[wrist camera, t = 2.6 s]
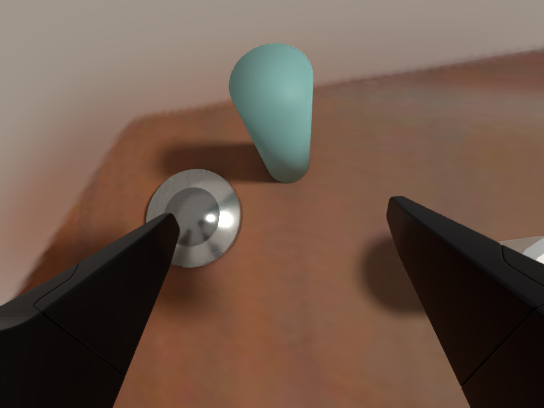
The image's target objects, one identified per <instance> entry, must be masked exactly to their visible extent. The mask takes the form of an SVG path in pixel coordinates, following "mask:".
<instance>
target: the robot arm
mask: <svg viewBox="0 0 544 408" xmlns="http://www.w3.org/2000/svg"><path fill="white" fill-rule="evenodd" d="M386 217H387V221H388V224H389V228H390V231H391V234H392V237H393V240H394V243H395V246H396V249H397V252H398V254H399V256H400V259H401V261H402V263H403V265H404V267H405V269H406V271H407V274H408V276H409V278H410V280H411V282H412V284H413V286H414V288H415V291H416V293H417V295H418V297H419V299H420V301H421V303H422V305H423V307H424V310H425V312H426V314H427V316H428V318H429V320H430V322H431V324H432V327H433V329H434V331H435V333H436V335H437V337H438V339H439V341H440V344H441V346H442V348H443V350H444V352H445V354H446V356H447V358H448V360H449V363H450V365H451V367H452V369H453V371H454V373H455V375H456V377H457V380H458V382H459V384H460V386H462V391H463V393H464V395H465V397H466V399H467V401H468V403H469V405H470V408H544V264H543V263H541V262H539V261H536V260H534V259H532V258H530V257H528V256H526V255H524V254H521V253H519V252H517V251H515V250H513V249H511V248H509V247H507V246H505V245H501V244H500V243H499V242H496V241H494V240H492V239H490V238H488V237H486V236H484V235H482V234H480V233H478V232H476V231H474V230H472V229H470V228H467V227H465V226H463V225H461V224H459V223H457V222H455V221H453V220H451V219H449V218H447V217H445V216H443V215H441V214H438V213H436V212H434V211H432V210H430V209H428V208H426V207H424V206H422V205H420V204H418V203H416V202H414V201H412V200H409V199H407V198H405V197H403V196H395V197H391V198H390V199H389V203H388V209H387V214H386ZM179 234H180V227H179V224H178V222H177V220H176V218H175V216H174V215H173V214H172V213H163V214H161V215H159V216H157V217H156V218H154V219H152V220H150V221H149V222H147V223H145V224H144V225H142V226H140V227H139V228H137V229H135V230H133V231H132V232H130V233H128V234H127V235H125V236H123V237H122V238H120V239H118V240H116V241H115V242H113V243H111V244H110V245H108V246H106V247H105V248H103V249H101V250H100V251H98V252H96V253H94V254H93V255H91V256H89V257H88V258H86V259H84V260H83V261H81V262H80V263H77V264H76V265H74V266H72V267H71V268H69V269H67V270H65V271H64V272H62V273H60V274H58V275H57V276H55V277H53V278H52V279H50V280H48V281H46V282H44V283H42V284H41V285H39V286H37V287H35V288H33V289H31V290H30V291H28V292H26V293H24V294H22V295H20V296H18V297H17V298H15V299H13V300H11V301H9V302H7V303H5V304H4V305H2V306H0V408H113V405H114V403H115V401H116V398H117V396H118V393H119V391H120V388H121V386H122V383H123V381H124V378H125V375H126V373H127V371H128V368H129V366H130V363H131V361H132V358H133V356H134V353H135V351H136V348H137V346H138V344H139V341H140V339H141V336H142V334H143V331H144V329H145V326H146V324H147V321H148V319H149V316H150V314H151V312H152V309H153V307H154V304H155V302H156V299H157V297H158V294H159V292H160V289H161V287H162V284H163V282H164V279H165V277H166V275H167V272H168V270H169V267H170V264H171V262H172V259H173V255H174V252H175V248H176V245H177V241H178V238H179Z"/></svg>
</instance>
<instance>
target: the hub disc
mask: <svg viewBox="0 0 544 408" xmlns="http://www.w3.org/2000/svg"><path fill="white" fill-rule="evenodd" d="M163 213H172V214H173V215H174V216H175V218H176V220H177V222H178V224H179V227H180V234H179V238H178V241H177V245H176V248H175V252H174V255H173V259H172V262H171V264H173V265H176V266H179V267H189V268H192V267H199V266H203V265H207V264H210V263H212V262H214V261H216V260H218V259H219V258H221V257H222V256H223V255H225V254H226V253H227V252H228V251H229V250H230V248H231V247H232V246H233V244H234V243H235V241H236V239H237V237H238V235H239V232H240V228H241V224H242V207H241V203H240V200H239V197H238V195H237V193H236V191H235V190H234V188H233V187H232V186H231V185H230V184H229V183H228V182H227V181H226V180H225V179H223V178H222V177H221V176H219V175H218V174H216V173H214V172H211V171H208V170H204V169H190V170H185V171H182V172H179V173H177V174H175V175H173V176H172V177H170V178H169V179H167V180H166V181H165V182H164V183H163V184H162V185H161V186H160V187H159V188H158V189H157V191H156V192H155V194H154V195H153V197H152V199H151V201H150V204H149V207H148V211H147V217H146V223H147V222H149V221H150V220H152V219H154V218H156V217H157V216H159V215H161V214H163Z"/></svg>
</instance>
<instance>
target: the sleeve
mask: <svg viewBox="0 0 544 408" xmlns="http://www.w3.org/2000/svg"><path fill="white" fill-rule="evenodd" d="M229 91H230V96H231V98H232V101H233V103H234V105H235V107H236V109H237V111H238V113H239V114H240V116H241V118H242V120H243V122H244V124H245V126H246V128H247V130H248V132H249V134H250V136H251V138H252V140H253V142H254V144H255V146H256V148H257V150H258V152H259V154H260V156H261V158H262V160H263V162H264V164H265V166H266V168H267V170H268V172H269V174H270V175H271V176H272V177H273V178H274V179H275V180H277V181H279V182H281V183H293V182H296V181H298V180H300V179H301V178H302V177H303V176H304V175H305V174H306V172H307V170H308V167H309V157H310V136H311V115H312V94H313V70H312V67H311V64H310V62H309V60H308V59H307V57H306V56H305V55H304V54H303V53H302V52H301V51H299V50H298V49H296V48H294V47H292V46H289V45H286V44H278V43H277V44H276V43H275V44H266V45H262V46H260V47H257V48H255V49H253V50H251V51H249V52H248V53H247V54H245V55H244V56H243V57H242V58H241V59H240V60H239V61H238V62H237V64H236V65H235V67H234V69H233V71H232V73H231V76H230V80H229Z"/></svg>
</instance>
